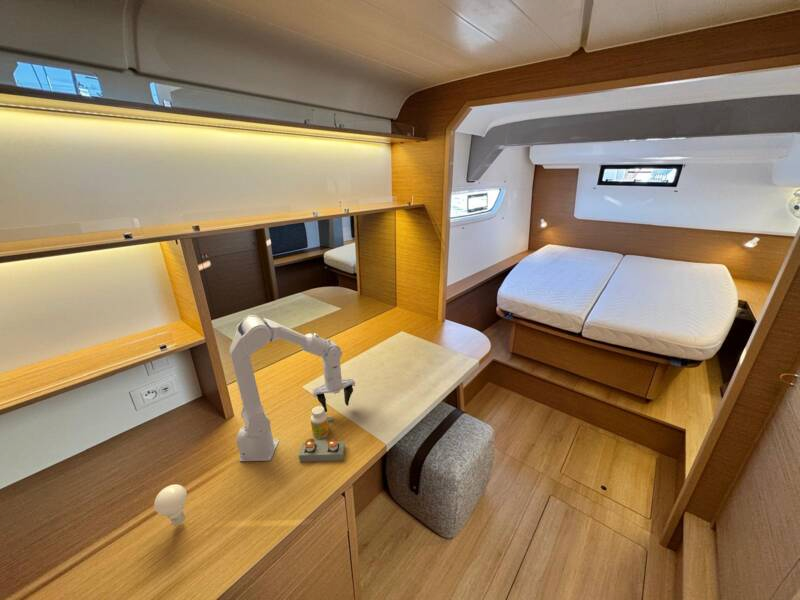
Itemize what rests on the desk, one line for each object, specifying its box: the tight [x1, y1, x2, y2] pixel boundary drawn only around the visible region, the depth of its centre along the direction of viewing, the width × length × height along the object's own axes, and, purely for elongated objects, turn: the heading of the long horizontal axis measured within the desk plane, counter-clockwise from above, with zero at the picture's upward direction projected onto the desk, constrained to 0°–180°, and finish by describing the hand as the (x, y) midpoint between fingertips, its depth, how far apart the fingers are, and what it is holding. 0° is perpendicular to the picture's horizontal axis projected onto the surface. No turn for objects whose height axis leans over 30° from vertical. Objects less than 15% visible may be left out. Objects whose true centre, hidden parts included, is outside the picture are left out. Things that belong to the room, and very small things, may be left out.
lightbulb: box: [153, 483, 188, 527], centre depth 77 cm, size 6×6×11 cm
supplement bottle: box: [310, 405, 330, 440], centre depth 104 cm, size 5×5×10 cm
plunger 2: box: [327, 437, 339, 452], centre depth 96 cm, size 3×3×4 cm
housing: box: [298, 416, 346, 462], centre depth 103 cm, size 13×18×2 cm
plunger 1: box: [304, 438, 316, 453], centre depth 96 cm, size 3×3×4 cm
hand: (336, 407), depth 112 cm, fingers open, 7 cm apart
